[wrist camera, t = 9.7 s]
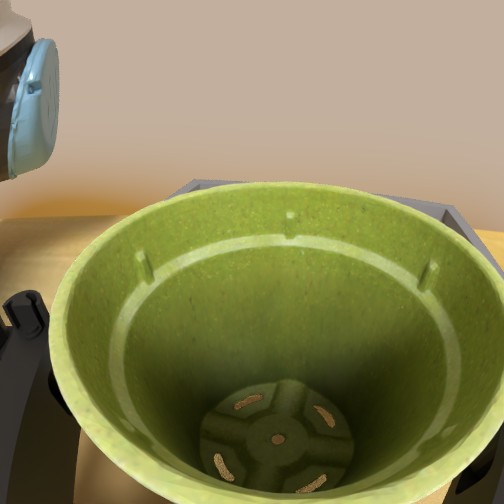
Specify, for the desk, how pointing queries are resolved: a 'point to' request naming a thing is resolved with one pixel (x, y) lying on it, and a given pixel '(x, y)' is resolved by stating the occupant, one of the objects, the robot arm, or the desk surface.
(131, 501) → the desk surface
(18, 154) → the robot arm
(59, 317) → the plant pot
